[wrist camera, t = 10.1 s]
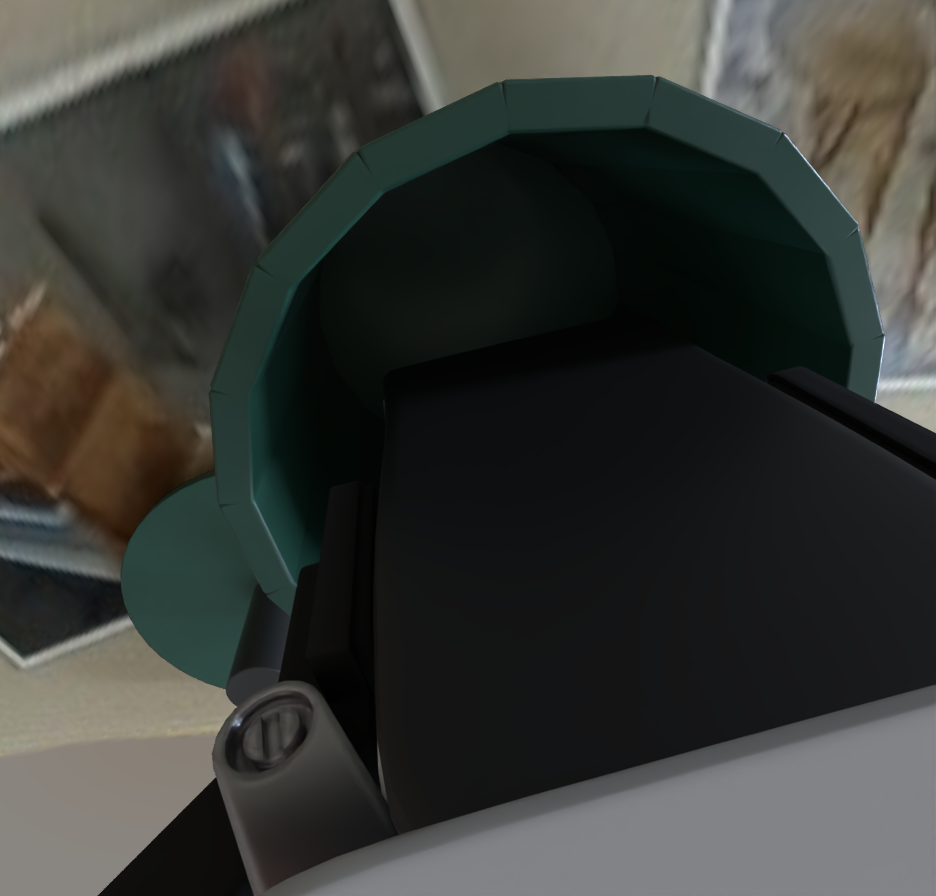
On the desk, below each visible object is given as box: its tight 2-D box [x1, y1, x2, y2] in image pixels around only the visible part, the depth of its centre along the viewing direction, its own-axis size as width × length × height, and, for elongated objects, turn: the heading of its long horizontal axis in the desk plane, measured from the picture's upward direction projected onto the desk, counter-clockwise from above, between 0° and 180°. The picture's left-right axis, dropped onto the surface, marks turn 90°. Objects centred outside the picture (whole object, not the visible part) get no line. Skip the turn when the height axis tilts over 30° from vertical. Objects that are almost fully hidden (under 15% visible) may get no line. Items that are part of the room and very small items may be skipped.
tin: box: [209, 75, 885, 617], centre depth 17 cm, size 13×14×14 cm
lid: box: [121, 470, 291, 707], centre depth 25 cm, size 14×14×7 cm
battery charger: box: [373, 313, 936, 835], centre depth 9 cm, size 7×4×11 cm, turn 101°
